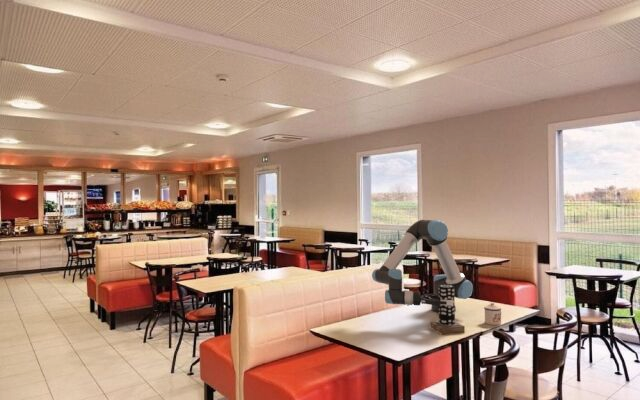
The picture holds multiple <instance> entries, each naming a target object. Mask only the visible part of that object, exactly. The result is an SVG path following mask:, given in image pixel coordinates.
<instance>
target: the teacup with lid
mask: <svg viewBox="0 0 640 400" xmlns="http://www.w3.org/2000/svg"><path fill="white" fill-rule="evenodd" d="M483 308H484V309H483V310H484V323H485V324H487V325H490V326H499V325H501V324H502V308H501V307H500V306H498V305H497V304H495V302H490V304H488V305H485V306H484V307H483Z"/></svg>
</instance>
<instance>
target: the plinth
mask: <svg viewBox="0 0 640 400" xmlns="http://www.w3.org/2000/svg"><path fill="white" fill-rule="evenodd" d="M430 329H432V330H433V331H435V332H437V333H438V334H440V335H442V336H443V335H444V336H445V335H454V334H455V335H456V334H464V333H466V331H465V325H463V324H461V323H460V322H457V321H455V324H453V325H443V324H440V323H439V320H434V321H433V320H432V321H430Z"/></svg>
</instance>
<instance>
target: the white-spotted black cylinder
mask: <svg viewBox="0 0 640 400" xmlns="http://www.w3.org/2000/svg"><path fill="white" fill-rule="evenodd" d="M438 293H439V300H453V306H449V305H440V307H439V312H438V321H439V323H440V324H443V325H453V324H455V322H456V313H455V312H456V311H455V307H456V305H455V304H456V303H455V302H456V301H455V299H456V297H454V286H453V285H439V286H438Z"/></svg>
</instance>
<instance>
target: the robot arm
mask: <svg viewBox="0 0 640 400" xmlns="http://www.w3.org/2000/svg"><path fill="white" fill-rule="evenodd" d="M448 232H449V229H448V226H447V224H446V223H445V222H444V221H442V220H439V219H433V220H432V219H420V220H417V221H415V222H414V223H413V224H412V225H410V226H409V228H408V229H406V231H405V232H404V233H403V235H404V236H403V237H402V239H401V240H400V241H399V242H398V244H397V245H396V246H395V248H394V249H393V251H392V252H391V253H390V255H389V256H388V257H387V259H386V260H385V261H384V263H383V264H382V265H381V267H380V268H375V269H374V270H373V271H372V273H371V277H372V279H373V281H375V282H377V283H379V284H384V285H388V289H387V290H385V291H384V302H385V303H386V304H390V305H391V304H392V305H407V306H412V305H413V306H421V304H422V305H423V304H424V305H429V306H430V305H431V306H430V307H431V309H430V310H431V311H432V312H435V313H439V307H440V305H449V306H453V300H439V293H438V286H439V285H453V286H454V298H455V299H456V298H457V299H461V300H467V299H468V298H470V296H471V295H472V293H473V291H474V287H473V286H474V285H473V283H472V282H471V281H470V280H468V279H466V277H465V275H464V273H463V272H460V269H459V267H458V265H457V262H456V260H455V258H454V255H453V254H452V252H451V250H450V246H449V245H448V242H447V240H448V234H449V233H448ZM420 240H426V242H427V244H428V245H429V246H430V247H432V248H433V251H434V253H435V255H436V257H437V260H438V262H439V263H440V266H441V268H442V271H443V272H444V274H443V273H442V274H436V275H434V276H433V293H422V295H421V291H412V290H403V274H402V272H403V271H402V269H399V268H398V267H399V265H400V264H401V262H402V261H403V259H404V258H405V257H406V255H408V254H409V252H410V251H411V249H412V248H413V246H414V245H415V244H418V243H419V241H420ZM456 310H457V307H456V306H455V312H457V311H456Z"/></svg>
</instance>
